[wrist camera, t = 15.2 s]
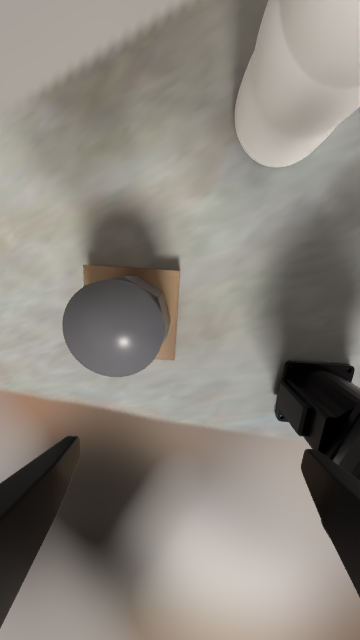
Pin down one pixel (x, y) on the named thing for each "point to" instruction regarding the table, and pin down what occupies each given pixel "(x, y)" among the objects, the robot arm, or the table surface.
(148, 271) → the stud block
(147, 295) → the cap
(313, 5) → the water bottle
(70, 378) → the table surface
